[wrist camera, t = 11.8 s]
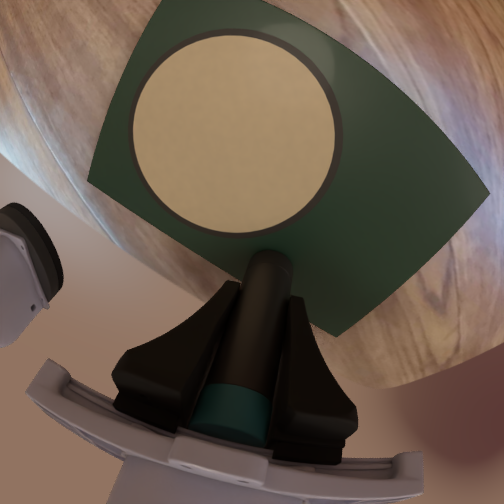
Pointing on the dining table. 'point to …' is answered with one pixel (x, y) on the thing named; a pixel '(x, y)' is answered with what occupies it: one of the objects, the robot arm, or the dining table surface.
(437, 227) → the kitchen scale
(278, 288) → the pill bottle
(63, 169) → the dining table surface
